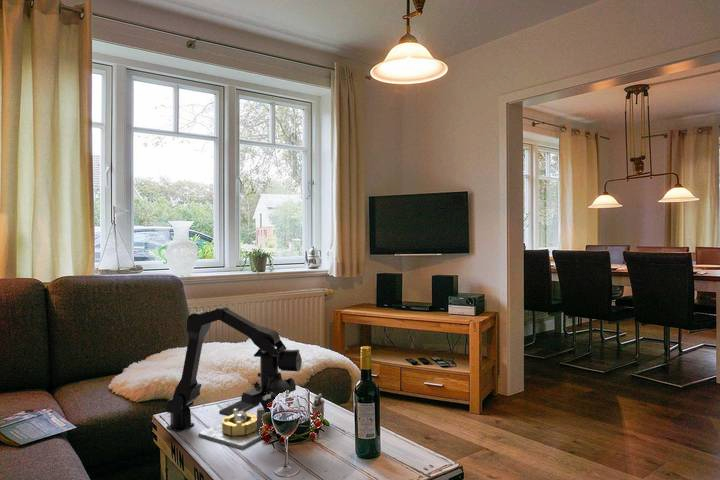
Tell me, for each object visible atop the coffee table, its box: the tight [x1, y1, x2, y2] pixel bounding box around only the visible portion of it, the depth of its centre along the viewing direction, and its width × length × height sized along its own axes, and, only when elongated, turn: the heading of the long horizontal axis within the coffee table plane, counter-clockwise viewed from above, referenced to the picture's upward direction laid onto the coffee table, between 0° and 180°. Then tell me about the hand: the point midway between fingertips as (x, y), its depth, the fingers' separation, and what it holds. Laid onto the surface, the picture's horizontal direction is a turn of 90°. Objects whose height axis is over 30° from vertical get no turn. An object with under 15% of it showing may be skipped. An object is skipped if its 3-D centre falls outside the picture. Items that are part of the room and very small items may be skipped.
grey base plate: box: [198, 408, 262, 450], centre depth 160 cm, size 19×18×6 cm
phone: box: [218, 400, 260, 416], centre depth 182 cm, size 8×1×15 cm
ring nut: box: [221, 407, 265, 436], centre depth 160 cm, size 18×11×6 cm, turn 98°
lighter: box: [311, 393, 325, 420], centre depth 166 cm, size 8×3×10 cm, turn 168°
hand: (269, 417), depth 158 cm, fingers closed
